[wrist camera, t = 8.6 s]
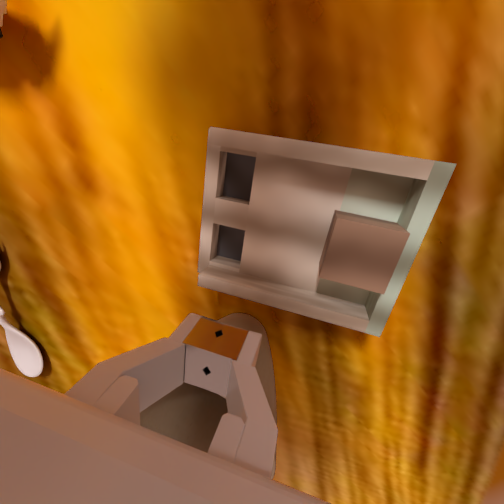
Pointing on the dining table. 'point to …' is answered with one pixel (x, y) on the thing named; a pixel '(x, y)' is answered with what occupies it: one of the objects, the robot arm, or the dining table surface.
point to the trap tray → (306, 220)
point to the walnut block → (362, 251)
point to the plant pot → (207, 399)
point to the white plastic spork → (22, 348)
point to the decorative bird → (0, 9)
